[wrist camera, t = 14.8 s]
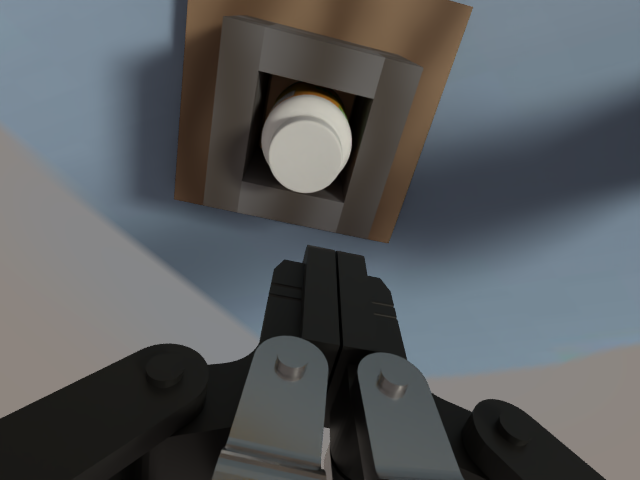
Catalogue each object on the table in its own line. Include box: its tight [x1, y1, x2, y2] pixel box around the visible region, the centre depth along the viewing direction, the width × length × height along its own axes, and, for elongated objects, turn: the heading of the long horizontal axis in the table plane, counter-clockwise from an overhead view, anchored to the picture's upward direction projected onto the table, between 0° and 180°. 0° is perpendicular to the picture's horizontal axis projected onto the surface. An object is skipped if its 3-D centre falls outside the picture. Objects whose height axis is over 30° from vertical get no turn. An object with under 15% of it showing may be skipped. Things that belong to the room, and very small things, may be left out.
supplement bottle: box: [261, 81, 352, 193], centre depth 26 cm, size 5×5×10 cm
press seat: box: [260, 74, 355, 148], centre depth 31 cm, size 6×6×2 cm
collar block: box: [174, 0, 473, 243], centre depth 29 cm, size 19×19×10 cm
